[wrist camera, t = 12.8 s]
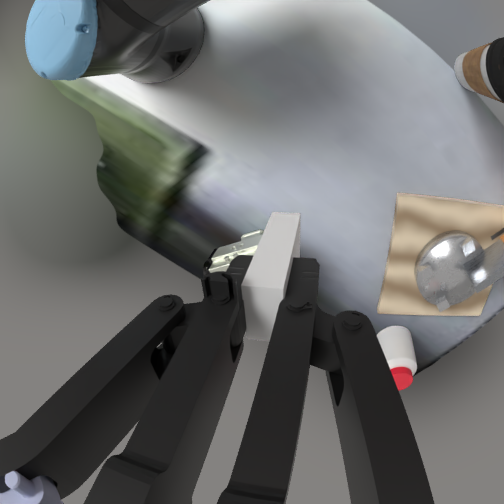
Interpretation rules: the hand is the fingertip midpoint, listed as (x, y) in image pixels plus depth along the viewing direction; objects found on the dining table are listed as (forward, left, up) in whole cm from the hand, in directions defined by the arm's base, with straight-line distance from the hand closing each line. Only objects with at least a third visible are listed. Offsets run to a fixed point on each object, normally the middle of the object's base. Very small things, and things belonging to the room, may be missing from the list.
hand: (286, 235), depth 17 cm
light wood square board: (+18, +24, -29) cm, 42 cm away
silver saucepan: (+14, +29, -28) cm, 42 cm away
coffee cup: (-13, +24, -30) cm, 40 cm away
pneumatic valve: (+16, -9, -30) cm, 35 cm away
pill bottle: (+37, +18, -30) cm, 51 cm away
